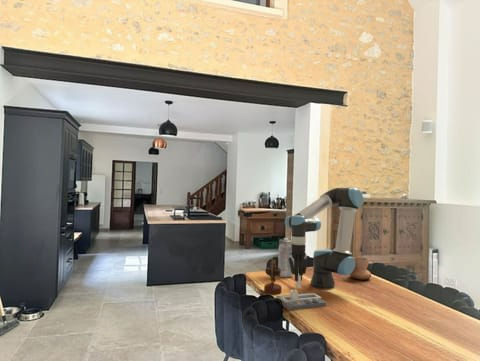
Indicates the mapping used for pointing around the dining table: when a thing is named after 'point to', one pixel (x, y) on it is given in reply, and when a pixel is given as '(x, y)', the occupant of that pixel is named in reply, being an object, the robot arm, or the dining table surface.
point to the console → (302, 301)
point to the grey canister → (285, 257)
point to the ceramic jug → (361, 268)
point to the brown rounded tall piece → (273, 279)
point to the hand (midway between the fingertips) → (298, 286)
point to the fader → (293, 294)
